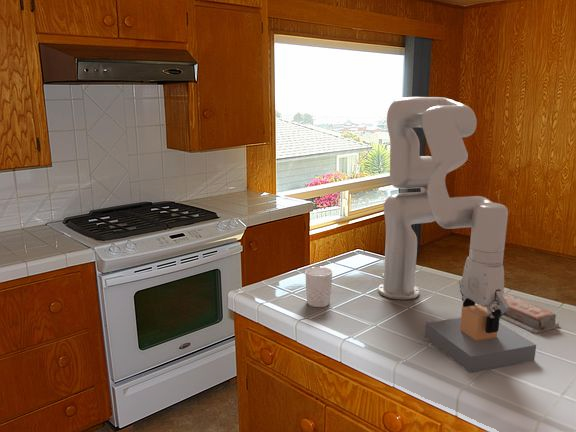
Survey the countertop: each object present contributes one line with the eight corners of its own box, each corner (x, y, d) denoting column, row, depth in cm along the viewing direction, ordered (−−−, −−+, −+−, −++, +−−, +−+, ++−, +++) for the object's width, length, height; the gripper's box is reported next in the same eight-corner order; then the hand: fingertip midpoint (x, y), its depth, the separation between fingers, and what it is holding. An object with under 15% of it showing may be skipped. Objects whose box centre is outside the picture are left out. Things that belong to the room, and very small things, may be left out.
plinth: (424, 337, 131) (425, 322, 130) (483, 327, 136) (484, 313, 135) (469, 372, 114) (471, 356, 113) (534, 360, 120) (536, 344, 119)
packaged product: (562, 311, 136) (537, 319, 132) (560, 328, 137) (535, 336, 133) (506, 288, 152) (482, 295, 147) (505, 304, 153) (481, 310, 148)
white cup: (317, 310, 147) (318, 277, 145) (299, 302, 153) (299, 270, 151) (337, 303, 152) (337, 271, 150) (319, 295, 158) (319, 265, 155)
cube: (460, 329, 126) (462, 307, 125) (480, 326, 128) (482, 304, 127) (475, 340, 121) (478, 317, 119) (496, 337, 122) (499, 313, 121)
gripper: (450, 246, 127) (444, 311, 131) (498, 268, 111) (490, 342, 115) (475, 243, 129) (469, 308, 133) (526, 265, 113) (518, 337, 117)
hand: (479, 323), depth 124 cm, fingers open, 8 cm apart
